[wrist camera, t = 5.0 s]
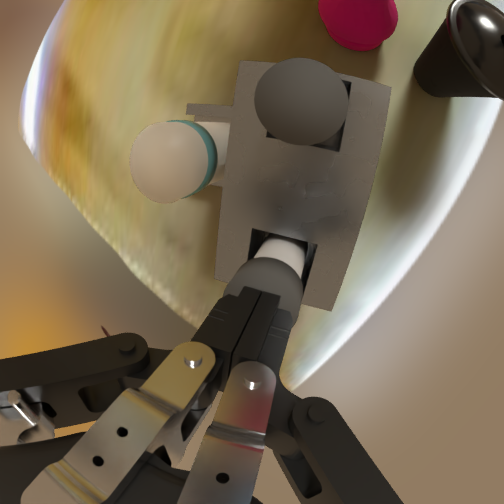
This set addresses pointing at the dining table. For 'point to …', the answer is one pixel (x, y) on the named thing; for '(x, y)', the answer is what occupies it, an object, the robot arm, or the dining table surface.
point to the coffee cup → (178, 158)
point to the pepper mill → (359, 21)
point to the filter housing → (296, 183)
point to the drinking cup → (465, 53)
